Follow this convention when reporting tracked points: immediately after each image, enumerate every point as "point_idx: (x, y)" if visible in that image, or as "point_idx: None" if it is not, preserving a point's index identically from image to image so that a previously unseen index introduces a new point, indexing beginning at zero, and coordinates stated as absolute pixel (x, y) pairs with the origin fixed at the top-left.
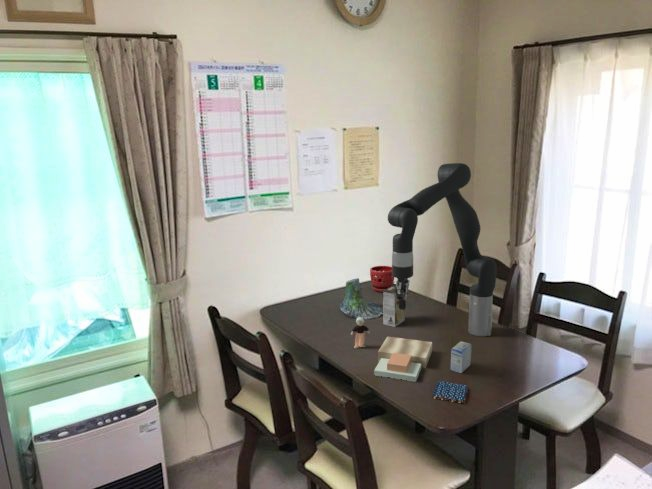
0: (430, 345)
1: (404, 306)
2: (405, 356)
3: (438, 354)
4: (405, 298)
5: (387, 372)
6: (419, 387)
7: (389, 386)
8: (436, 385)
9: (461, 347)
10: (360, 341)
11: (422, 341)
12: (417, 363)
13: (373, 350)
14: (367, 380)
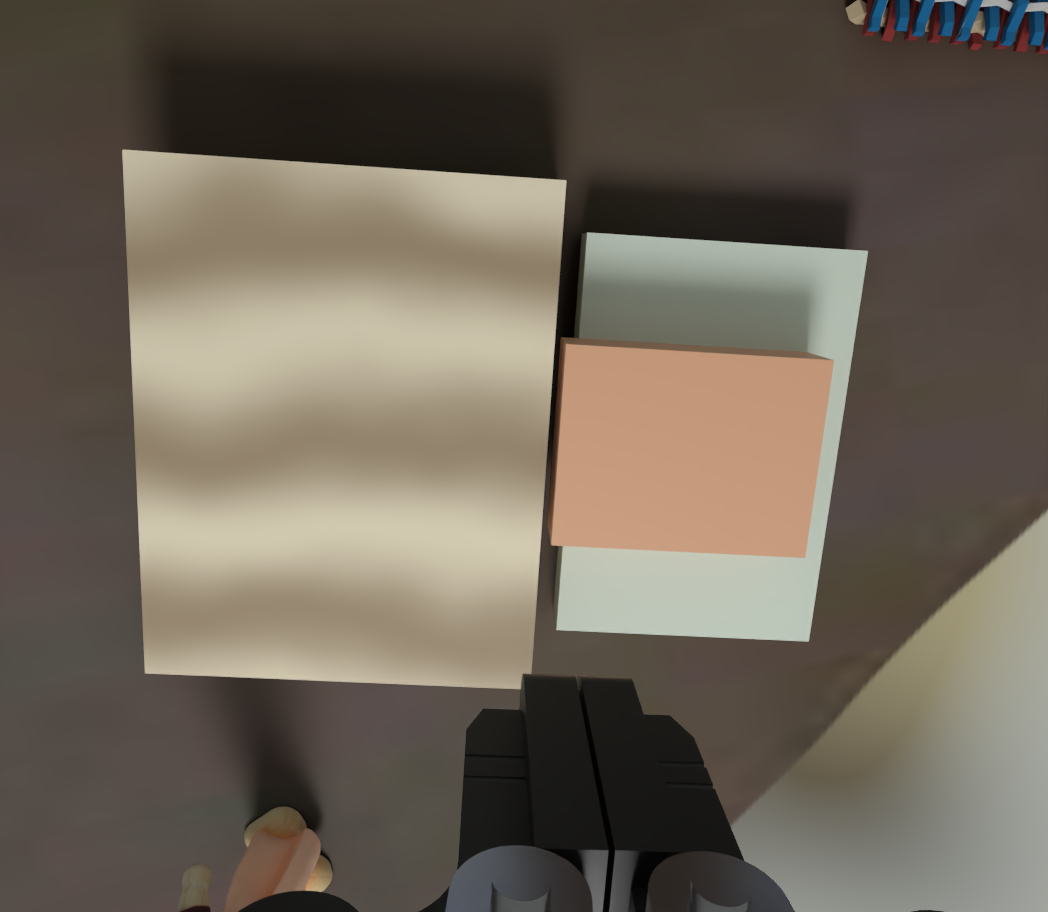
0: (224, 162)
1: (645, 732)
2: (610, 405)
3: (217, 86)
4: (753, 901)
5: (825, 522)
6: (935, 205)
7: (952, 464)
8: (947, 35)
9: None
10: (304, 884)
11: (143, 272)
12: (592, 271)
13: (327, 723)
14: (880, 652)
